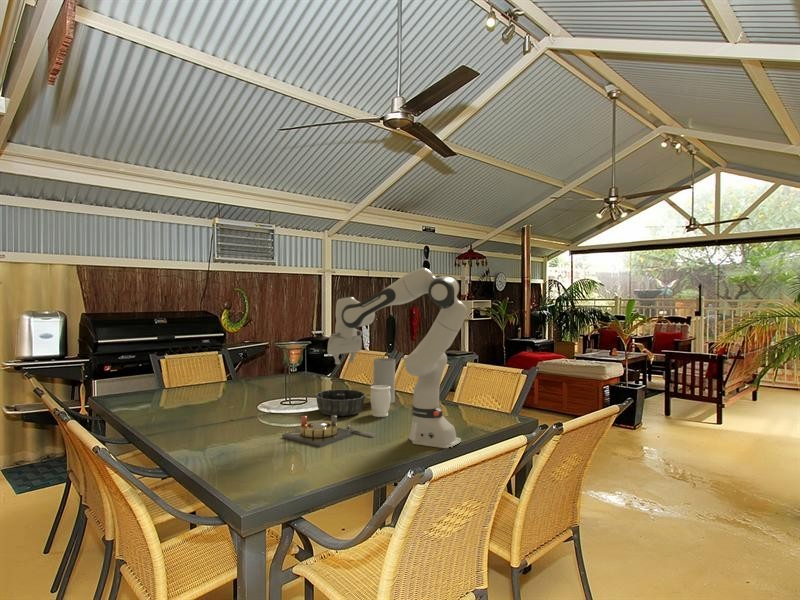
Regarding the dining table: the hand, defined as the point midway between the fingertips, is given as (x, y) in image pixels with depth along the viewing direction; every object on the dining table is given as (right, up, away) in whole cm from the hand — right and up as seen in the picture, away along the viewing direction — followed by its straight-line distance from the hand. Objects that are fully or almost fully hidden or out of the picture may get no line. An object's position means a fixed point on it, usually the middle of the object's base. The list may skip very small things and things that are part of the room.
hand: (344, 363), depth 216 cm
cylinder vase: (+16, -31, +61) cm, 71 cm away
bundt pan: (-6, -31, +35) cm, 47 cm away
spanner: (+8, -31, -4) cm, 32 cm away
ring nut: (-10, -29, -8) cm, 32 cm away
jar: (+15, -31, +31) cm, 46 cm away
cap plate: (-10, -31, -8) cm, 34 cm away
